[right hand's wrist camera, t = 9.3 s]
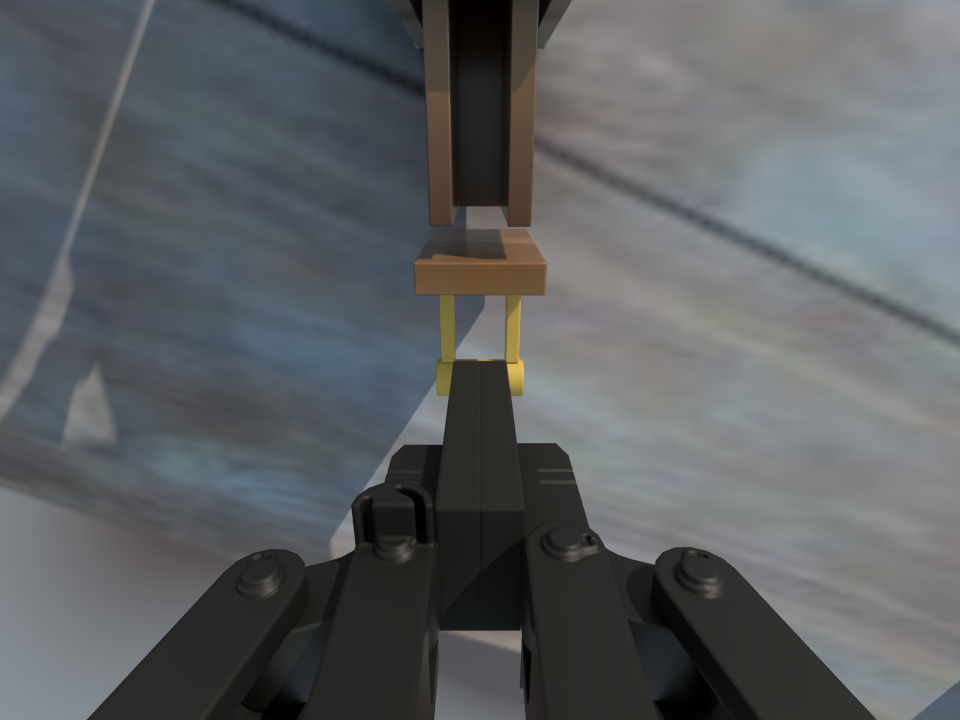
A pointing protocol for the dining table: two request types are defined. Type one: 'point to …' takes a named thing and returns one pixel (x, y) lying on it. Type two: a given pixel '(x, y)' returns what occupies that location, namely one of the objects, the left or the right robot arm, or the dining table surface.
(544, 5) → the cabinet
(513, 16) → the drawer
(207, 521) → the dining table surface
